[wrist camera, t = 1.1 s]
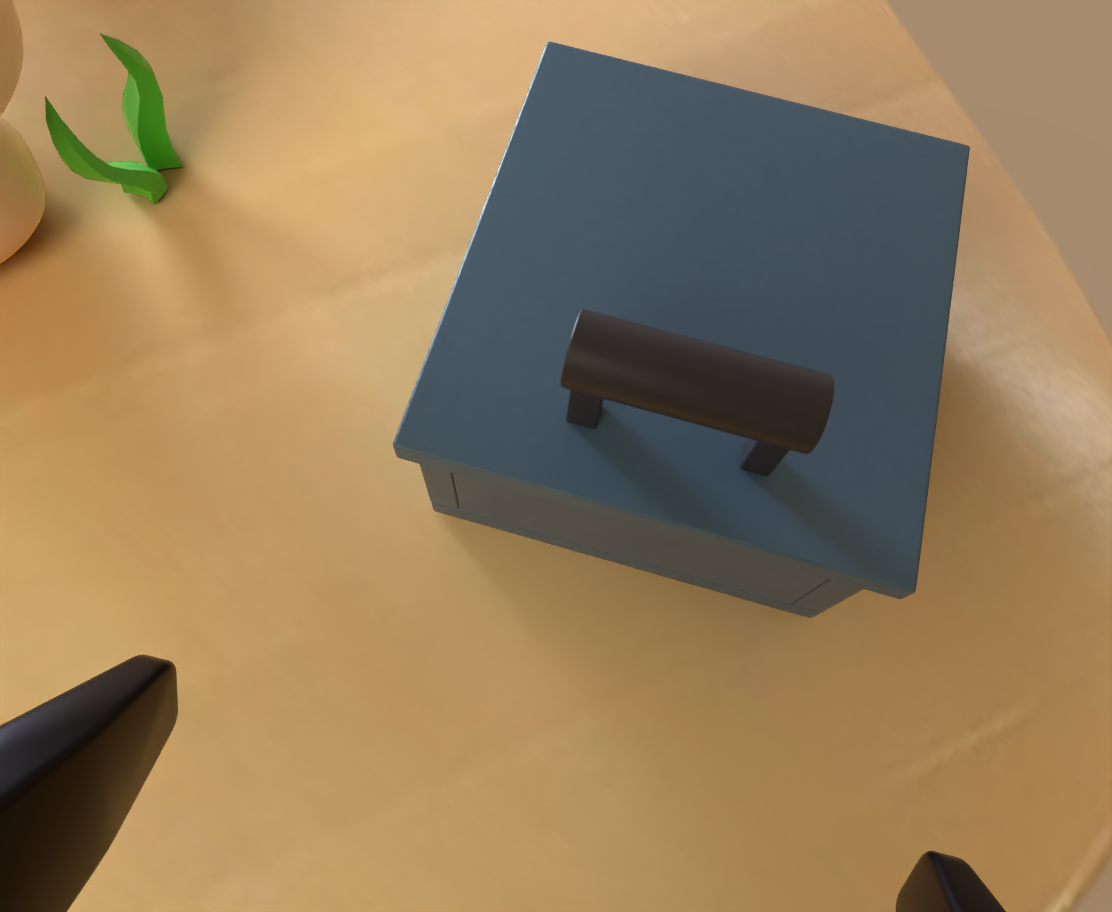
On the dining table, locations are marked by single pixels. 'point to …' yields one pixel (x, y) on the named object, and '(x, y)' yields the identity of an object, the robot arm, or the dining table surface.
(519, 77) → the dining table surface
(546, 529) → the cooler
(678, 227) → the lid
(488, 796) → the dining table surface
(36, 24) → the dining table surface
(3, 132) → the beige cat figurine
